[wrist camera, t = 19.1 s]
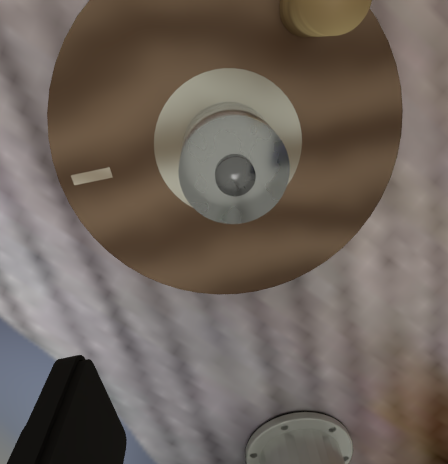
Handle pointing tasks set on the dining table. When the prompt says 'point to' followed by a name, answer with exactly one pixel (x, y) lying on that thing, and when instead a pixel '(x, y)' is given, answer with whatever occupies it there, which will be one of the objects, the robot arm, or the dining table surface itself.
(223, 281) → the turntable
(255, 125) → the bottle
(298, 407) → the dining table surface
